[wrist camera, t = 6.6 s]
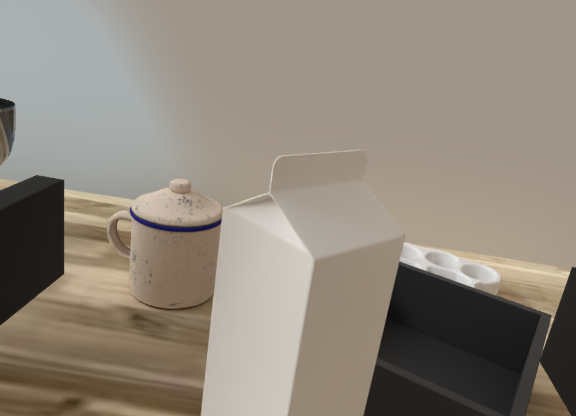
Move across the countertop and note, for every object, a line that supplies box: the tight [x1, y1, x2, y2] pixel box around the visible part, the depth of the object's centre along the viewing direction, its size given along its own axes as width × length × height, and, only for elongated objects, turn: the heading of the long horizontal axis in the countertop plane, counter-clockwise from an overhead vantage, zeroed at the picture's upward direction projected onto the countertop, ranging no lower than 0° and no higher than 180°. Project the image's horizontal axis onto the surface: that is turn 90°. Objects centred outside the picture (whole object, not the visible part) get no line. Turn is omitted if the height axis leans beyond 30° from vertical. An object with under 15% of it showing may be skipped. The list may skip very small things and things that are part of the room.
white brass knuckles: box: [400, 242, 502, 296], centre depth 61 cm, size 3×18×15 cm
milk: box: [201, 149, 405, 416], centre depth 26 cm, size 6×6×22 cm
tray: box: [363, 261, 551, 416], centre depth 42 cm, size 18×18×7 cm
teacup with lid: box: [107, 179, 223, 309], centre depth 52 cm, size 12×9×12 cm
